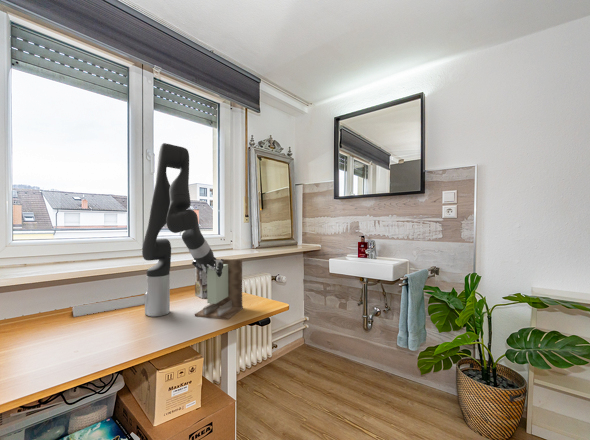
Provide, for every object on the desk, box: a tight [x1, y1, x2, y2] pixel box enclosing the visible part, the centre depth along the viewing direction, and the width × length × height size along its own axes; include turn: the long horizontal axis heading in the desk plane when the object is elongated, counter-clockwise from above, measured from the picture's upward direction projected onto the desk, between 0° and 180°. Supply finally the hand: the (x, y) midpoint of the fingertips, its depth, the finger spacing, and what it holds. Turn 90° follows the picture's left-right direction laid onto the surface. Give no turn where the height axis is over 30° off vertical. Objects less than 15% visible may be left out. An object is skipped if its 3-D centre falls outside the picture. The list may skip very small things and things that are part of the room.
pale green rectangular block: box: [206, 264, 228, 304], centre depth 127 cm, size 5×12×15 cm, turn 168°
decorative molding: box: [72, 294, 145, 318], centre depth 138 cm, size 34×5×10 cm
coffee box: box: [194, 266, 210, 299], centre depth 155 cm, size 9×6×16 cm
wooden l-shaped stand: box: [194, 258, 244, 320], centre depth 129 cm, size 16×15×23 cm
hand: (215, 274), depth 125 cm, fingers closed on pale green rectangular block, 4 cm apart
